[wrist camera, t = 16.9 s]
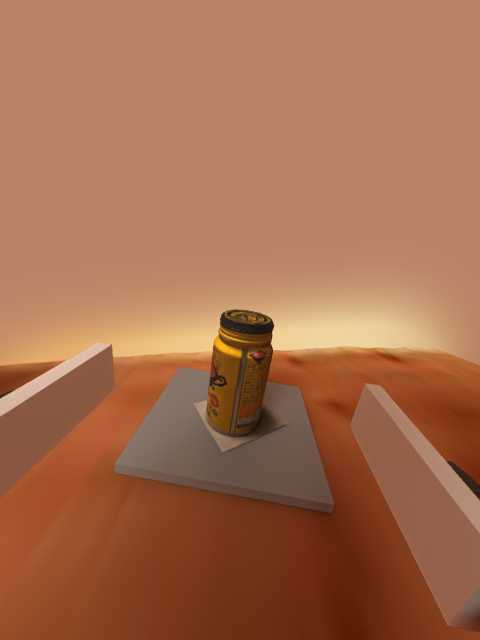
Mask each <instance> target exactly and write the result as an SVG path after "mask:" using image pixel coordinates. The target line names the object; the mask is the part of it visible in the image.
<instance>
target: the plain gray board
mask: <svg viewBox="0 0 480 640" xmlns="http://www.w3.org/2000/svg"><path fill="white" fill-rule="evenodd" d="M210 373H211V372H209V371H203V370H197V369H191V368H185V367H180V368H179V369H178V371H177V372H176V374H175V375H174V377H173V378H172V380H171V381H170V383H169V384H168V385H167V387H166V388H165V390H164V391H163V393H162V394H161V396H160V397H159V399H158V400H157V402H156V403H155V405H154V406H153V408H152V409H151V411H150V412H149V414H148V415H147V417H146V418H145V419H144V421H143V422H142V424H141V425H140V427H139V428H138V430H137V431H136V433H135V434H134V436H133V437H132V439H131V440H130V442H129V443H128V445H127V446H126V448H125V449H124V451H123V452H122V453H121V455H120V456H119V458H118V459H117V461H116V462H115V473H119V474H124V475H129V476H135V477H140V478H145V479H151V480H156V481H161V482H167V483H172V484H177V485H183V486H188V487H193V488H199V489H204V490H209V491H215V492H220V493H225V494H231V495H236V496H241V497H247V498H252V499H257V500H263V501H268V502H273V503H279V504H284V505H289V506H295V507H300V508H305V509H311V510H316V511H321V512H327V513H332V510H333V508H334V505H335V504H334V501H333V498H332V494H331V491H330V488H329V484H328V481H327V478H326V474H325V471H324V468H323V464H322V461H321V457H320V454H319V451H318V447H317V444H316V441H315V437H314V434H313V431H312V427H311V424H310V421H309V417H308V414H307V411H306V407H305V404H304V400H303V397H302V394H301V390H300V387H297V386H291V385H286V384H280V383H274V382H268V381H267V384H266V388H265V393H264V398H263V400H264V402H266V403H267V404H268V405H269V406H270V407H271V408H272V409H273V410H274V411H275V412H276V413H277V414H278V415H280V416H281V417H282V418H283V419H284V420H286V421H287V422H288V424H285V425H283V426H281V427H279V428H277V429H275V430H273V431H270V432H268V433H265V434H263V435H261V436H259V437H257V438H255V439H253V440H251V441H249V442H247V443H243V444H241V445H240V446H237V447H234V448H232V449H230V450H227V451H225V452H222V451H221V449H220V448H219V446H218V444H217V443H216V441H215V439H214V438H213V436H212V435H211V433H210V432H209V430H208V428H207V427H206V425H205V423H204V422H203V420H202V418H201V416H200V415H199V413H198V411H197V409H196V407H195V406H194V404H193V403H198V402H202V401H205V400H207V399H208V387H209V381H210Z"/></svg>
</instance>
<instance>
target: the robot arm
mask: <svg viewBox="0 0 480 640" xmlns="http://www.w3.org/2000/svg"><path fill="white" fill-rule="evenodd" d="M114 389H115V382H114V368H113V355H112V344H105V343H99V342H98V343H96V344H94V345H93V346H91V347H89V348H87V349H86V350H84V351H82V352H80V353H79V354H77V355H75V356H74V357H72V358H70V359H68V360H67V361H65V362H63V363H61V364H60V365H58V366H56V367H54V368H53V369H51V370H49V371H47V372H46V373H44V374H42V375H41V376H39V377H37V378H35V379H34V380H32V381H30V382H28V383H27V384H25V385H23V386H22V387H20V388H18V389H16V390H13V391H10V392H7V393H5V394H2V395H0V498H2V497H3V496H4V495H5V494H6V493H7V492H8V491H9V490H10V489H11V488H12V487H13V486H14V485H15V484H16V483H17V482H18V481H19V480H20V479H21V478H22V477H23V476H24V475H25V474H27V473H28V472H29V471H30V470H31V469H32V468H33V467H34V466H35V465H36V464H37V463H38V462H39V461H40V460H41V459H42V458H43V457H44V456H45V455H46V454H47V453H48V452H49V451H50V450H52V449H53V448H54V447H55V446H56V445H57V444H58V443H59V442H60V441H61V440H62V439H63V438H64V437H65V436H66V435H67V434H68V433H69V432H70V431H71V430H72V429H73V428H74V427H75V426H76V425H78V424H79V423H80V422H81V421H82V420H83V419H84V418H85V417H86V416H87V415H88V414H89V413H90V412H91V411H92V410H93V409H94V408H95V407H96V406H97V405H98V404H99V403H100V402H101V401H103V400H104V399H105V398H106V397H107V396H108V395H109V394H110V393H111V392H112V391H113V390H114ZM350 429H351V431H352V433H353V435H354V437H355V439H356V441H357V443H358V445H359V447H360V449H361V451H362V453H363V455H364V457H365V459H366V461H367V463H368V465H369V467H370V469H371V471H372V473H373V475H374V477H375V479H376V482H377V484H378V486H379V488H380V490H381V492H382V494H383V496H384V498H385V500H386V502H387V504H388V506H389V508H390V510H391V512H392V514H393V516H394V518H395V520H396V522H397V524H398V526H399V528H400V530H401V532H402V534H403V536H404V538H405V540H406V542H407V544H408V546H409V548H410V550H411V552H412V555H413V557H414V559H415V561H416V563H417V565H418V567H419V569H420V571H421V573H422V575H423V577H424V579H425V581H426V583H427V585H428V587H429V589H430V591H431V593H432V595H433V597H434V599H435V601H436V603H437V605H438V607H439V609H440V611H441V613H442V615H443V617H444V619H445V621H446V623H447V625H448V626H452V627H457V628H462V629H467V630H472V631H477V632H479V631H480V485H477V484H476V482H475V481H474V480H473V479H472V478H471V477H470V476H469V475H467V474H466V473H465V472H464V471H462V470H461V469H460V468H459V467H457V466H456V465H455V464H454V463H452V462H450V461H445V460H444V458H443V457H442V456H441V455H440V454H439V453H438V452H437V450H436V449H435V448H434V447H433V446H432V445H431V443H430V442H429V441H428V440H427V439H426V438H425V437H424V435H423V434H422V433H421V432H420V431H419V430H418V428H417V427H416V426H415V425H414V424H413V423H412V422H411V420H410V419H409V418H408V417H407V416H406V415H405V413H404V412H403V411H402V410H401V409H400V408H399V406H398V405H397V404H396V403H395V402H394V401H393V400H392V398H391V397H390V396H389V395H388V394H387V393H386V391H385V390H384V389H383V388H382V387H381V386H380V385H373V384H366V383H365V384H364V387H363V390H362V393H361V396H360V398H359V401H358V404H357V407H356V410H355V413H354V416H353V418H352V421H351V424H350Z"/></svg>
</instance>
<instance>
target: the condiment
mask: <svg viewBox="0 0 480 640" xmlns="http://www.w3.org/2000/svg"><path fill="white" fill-rule="evenodd" d="M273 328H274V324H273V321H272V319H271V318H270V317H268V316H266V315H263V314H261V313H258V312H253V311H247V310H229V311H226V312H224V313H222V315H221V318H220V328H219V331H218V332H219V335H218V336H217V337H216V338H215V341H214V346H213V356H212V364H211V373H210V381H209V387H208V399H207V400H205V401H202V402H198V403H193V404H194V406H195V407H196V409H197V411H198V413H199V415H200V416H201V418H202V420H203V422H204V423H205V425H206V427H207V428H208V430H209V432H210V433H211V435H212V436H213V438H214V439H215V441H216V443H217V444H218V446H219V448H220V449H221V451H222V452H225V451H227V450H230V449H232V448H234V447H237V446H240V445H241V444H243V443H247V442H249V441H251V440H253V439H255V438H257V437H259V436H261V435H263V434H265V433H268V432H270V431H273V430H275V429H277V428H279V427H281V426H283V425H285V424H288V422H287V421H286V420H284V419H283V418H282V417H281V416H280V415H278V414H277V413H276V412H275V411H274V410H273V409H272V408H271V407H270V406H269V405H268V404H267V403H266V402H264V400H263V398H264V393H265V388H266V384H267V379H268V374H269V369H270V364H271V359H272V354H273V348H272V345H271V340H272V331H273Z"/></svg>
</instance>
